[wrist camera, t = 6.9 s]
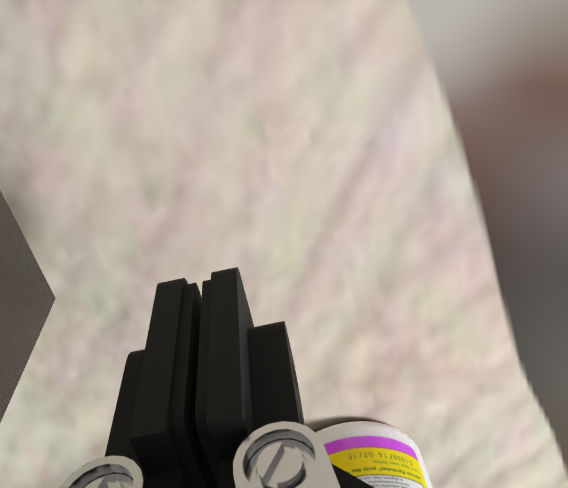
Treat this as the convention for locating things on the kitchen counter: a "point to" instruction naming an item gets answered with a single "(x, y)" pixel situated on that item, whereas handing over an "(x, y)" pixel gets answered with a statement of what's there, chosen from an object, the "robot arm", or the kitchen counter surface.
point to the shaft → (18, 303)
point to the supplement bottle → (375, 454)
